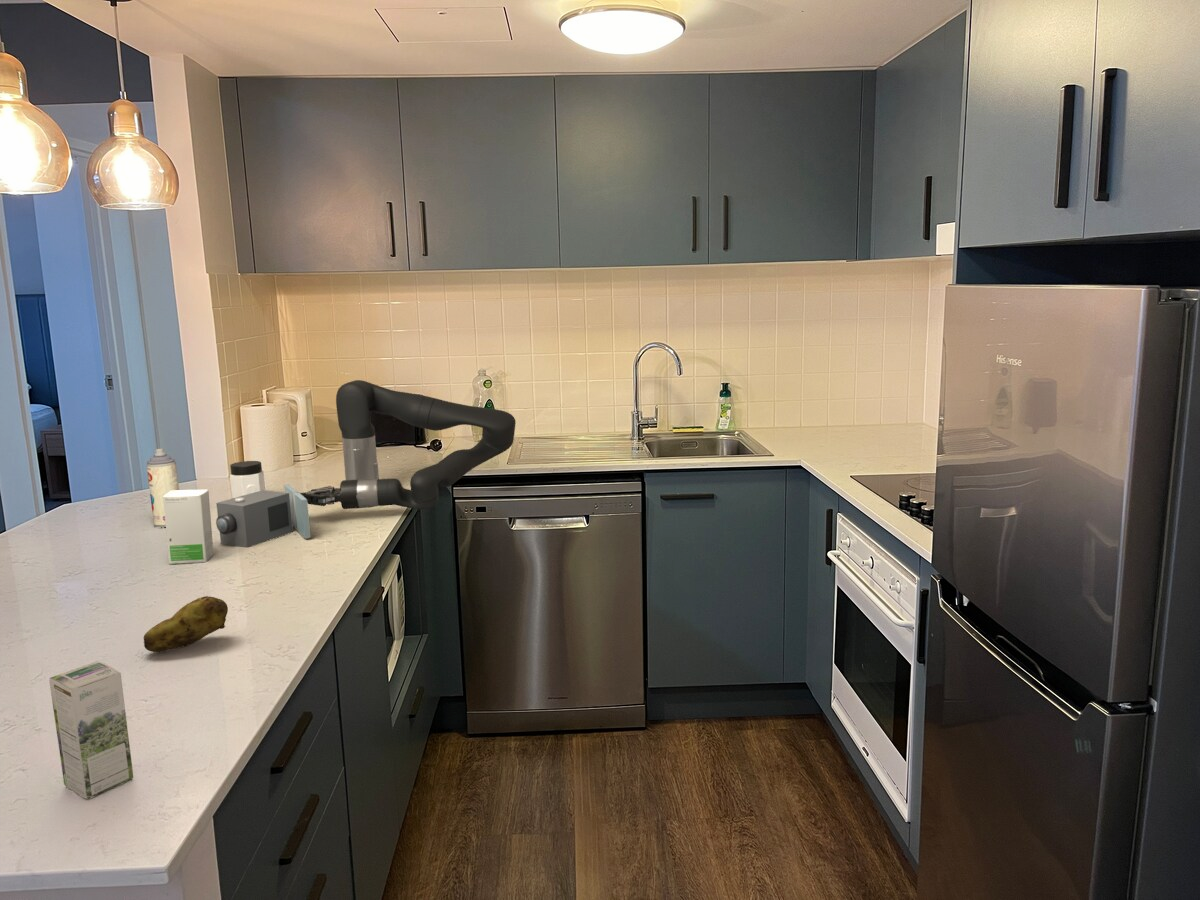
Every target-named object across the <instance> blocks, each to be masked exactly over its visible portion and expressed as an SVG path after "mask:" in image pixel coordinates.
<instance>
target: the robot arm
mask: <svg viewBox="0 0 1200 900" xmlns="http://www.w3.org/2000/svg"><path fill="white" fill-rule="evenodd" d="M335 404H336V414H337V415H336V416H337V421H338V422H337V423H338V427H339V429H340V432H341V439H342V449H343V464H344V465H343V466H344V477H345V479H344V480H341V482H340V484H339V487H335V486H331V485H328V486H324V487H318V488H313V489H310V490H308V491H305V492H299V493H300V494H301V495H302V496H304V497H305V498H306V499H307V504H308V505H314V506H321V507H325V506H326V507H327V505H330V506H331V505H334V504H335V503H339V502H340V505H341V508H342V509H343V510H352V509H353V510H354V509H367V508H369V509H371V508H375V507H385V506H386V507H387V506H400V507H401V508H410V509H414V510H429V509H431V508H434V507H436V505H438V503H439V499H440V498H439V496H440V495H439V487H438V485H440V486H441V487H445V488H446V487H451V486H452V485H454V484H455V483H456V482H458V481H459V480H460V479H461V478H462V477H464V476H465V475H466V474H467V473H469V472H470V471H472V470H473V469H475V468H476V467H478V466H480V465H482V464H484V463H485V462H488V461H489V460H491V459H493V458H495V457H497V456H498V455H500V454H503V453H504V452H506V451H507V450H509V449H510V448H511V446H513V444H514V439H515V432H516V423H517V422H516V418H515V416H514V415H512V414H511V413H510V412H507V411H505V410H501V409H496V408H488V407H482V406H481V407H480V406H473V405H467V404H461V403H458V402H457V403H456V402H452V401H448V400H443V399H440V398H436V397H431V396H427V395H422V394H417V393H411V392H404V391H399V390H392V389H390V388H386V387H383V386H381V385H376V384H374V383H371V382H369V381H366V380H361V379H355V380H351V381H349V382H346V383H344V384H342V385H341V386H340V387H339V388H338V389H337V392H336V396H335ZM372 412H373V413H378V414H383V415H389V416H391V417H394V418H396V419H398V420H400V421H402V422H404V423H406V424H407V425H410V426H413V427H416V428H420V429H425V430H429V431H443V430H448V429H451V428H453V427H457V426H463V425H466V426H473V427H479V428H481V429H482V431H481V439H480V440H479V441H478V442H477V443H476V444H475V445H474V446H473V447H471V448H469V449H467V448H466V449H465V448H463V449H458V450H454V451H453V452H451V453H449V454H448V455H446V456H445V457H444V458H442V459H441V460H440V461H439V462H437V463H435V464H432V465H429V466H427V467H424V468H420V469H418V470H416V471H415V472H413V474H412V476H411V477H410V482H409V487H410V489H407V488H405V487H404V486H403V485H402V482H401V481H400V480H399V479H398V478H381V479H380V478H379V477H380V475H379V463H378V458H377V445H376V444H377V443H376V431H375V426H374V425H373V424H372V422H371V418H370V413H372Z"/></svg>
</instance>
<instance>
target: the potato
mask: <svg viewBox="0 0 1200 900" xmlns="http://www.w3.org/2000/svg"><path fill="white" fill-rule="evenodd" d="M228 612H229V609H228V604H227V602H226V601H224V600H223V599H221V598H218V597H214V596H208V595H205V596H202V597H201V596H200V597H198V598H196V599H194V600H192V601H191V602H188V603H186V604H185V605H183V606H182V607H181V608H180V609H179V610H177V612H176V613H174V615H172V617H170V618H168V619H164V620H162V621H161V622H159V623H157V624H156V625H154V626H153V627H151V628H150V629H149V630H147V631H146V633H144V636H143V647H144V648H145V650H147V651H149V652H151V653H152V652H153V653H164V652H167V651H169V650H176V649H180V648H184V647H188V646H190V645H191V644H195V643H196V642H198V641H200V640H202V639H203V638H205V637H206V636H208V635H210V634H212V633H214V632H216V631H218V630H223V629H225V627H226V625H225V623H226V620H227V619H226V618H227V615H228Z"/></svg>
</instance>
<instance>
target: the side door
mask: <svg viewBox="0 0 1200 900" xmlns="http://www.w3.org/2000/svg"><path fill="white" fill-rule="evenodd" d="M283 491H284V493H289V498H290V508H291V519H292V528H294V529H295V530H296V531H295V532H298V533H299V534H300V535H301V536H302V537H303V538H304V539H310V538H311V528H310V517H309V507H308V506H309V504H308V503H307V499H306V498H305V497H304V496H302V495H301V494H300V493H301V492H299V491H297V490H296V488H294V487H293V486H291V485H290V484H283Z"/></svg>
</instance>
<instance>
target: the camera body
mask: <svg viewBox="0 0 1200 900" xmlns="http://www.w3.org/2000/svg"><path fill="white" fill-rule="evenodd" d="M216 510H217V511H216V512H217V518H216V520H215V522H216V523H215V524H216V528H217V531H219V537H220V540H219V541H220V544H222V545H230V546H235V547H240V548H241V547H242V548H250V547H253V545H254V546H256V545H259V544H262V543H265V542H268V541H271V540H274V539H277V538H279V536H280V537H282V535H283V536H286V535H288V533H289V534H292V533H293V531H294V530H293V526H292V519H291V508H290V498H289V493H285V491H284V492H283V491H274V490H267V489H265V490H262V491H258V492H254V493H251V494H247V495H243V496H240V497H236V498H232V497H231V498H230V499H229V498H228V499H225V500H223V501H222V500H221V501H218V502H216ZM291 532H292V533H291ZM285 534H286V535H285ZM276 537H277V538H276ZM273 538H274V539H273ZM270 539H271V540H270ZM267 540H268V541H267Z"/></svg>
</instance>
